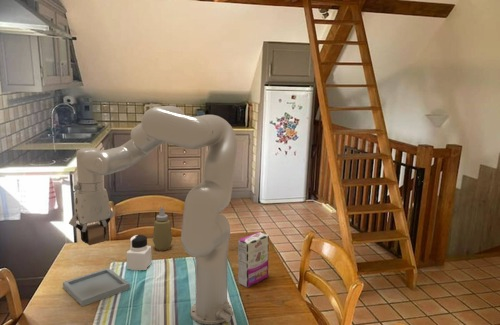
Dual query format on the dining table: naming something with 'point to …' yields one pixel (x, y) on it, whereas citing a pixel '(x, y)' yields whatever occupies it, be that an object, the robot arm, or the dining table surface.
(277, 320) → the dining table surface
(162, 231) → the squeeze bottle
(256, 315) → the dining table surface
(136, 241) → the medicine bottle
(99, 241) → the cube
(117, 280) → the tray
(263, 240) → the candy bar box
